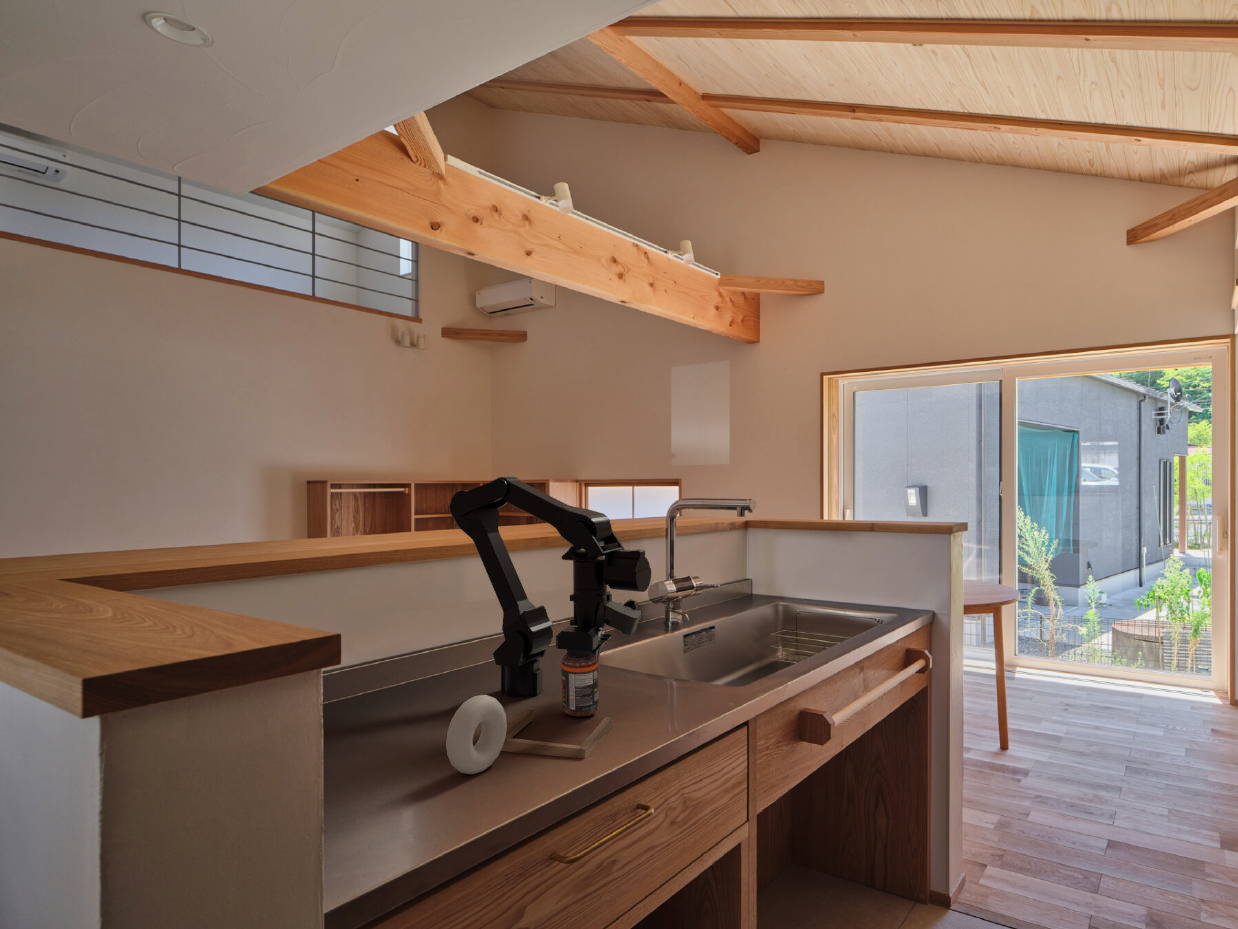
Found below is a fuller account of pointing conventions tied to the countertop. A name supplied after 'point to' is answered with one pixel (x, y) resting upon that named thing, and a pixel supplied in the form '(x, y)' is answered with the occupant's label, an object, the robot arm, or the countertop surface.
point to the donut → (463, 730)
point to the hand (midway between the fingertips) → (590, 679)
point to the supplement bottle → (580, 683)
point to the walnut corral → (548, 747)
